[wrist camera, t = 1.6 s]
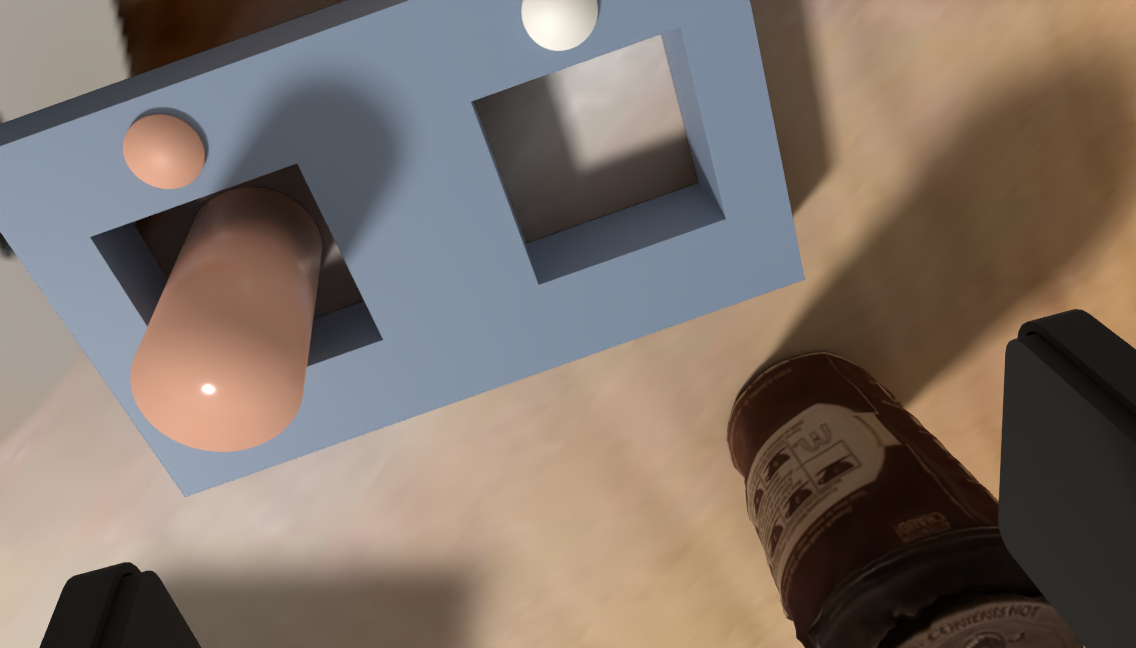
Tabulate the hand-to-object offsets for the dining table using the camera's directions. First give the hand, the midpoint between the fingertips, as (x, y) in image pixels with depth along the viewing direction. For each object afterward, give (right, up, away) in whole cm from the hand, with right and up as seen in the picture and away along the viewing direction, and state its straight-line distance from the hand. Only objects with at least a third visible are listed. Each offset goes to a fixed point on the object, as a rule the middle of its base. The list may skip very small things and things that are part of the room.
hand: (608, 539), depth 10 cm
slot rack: (-5, +7, +20) cm, 21 cm away
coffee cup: (+8, -1, +27) cm, 28 cm away
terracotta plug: (-10, +5, +20) cm, 23 cm away
